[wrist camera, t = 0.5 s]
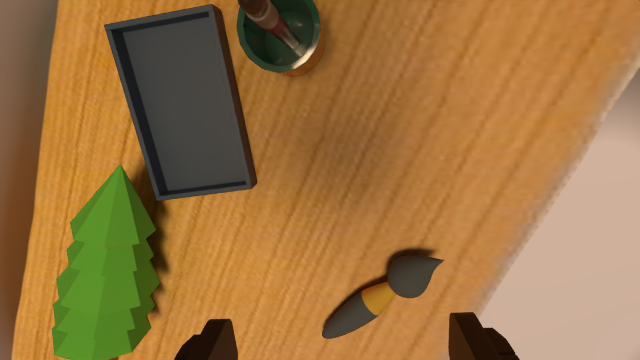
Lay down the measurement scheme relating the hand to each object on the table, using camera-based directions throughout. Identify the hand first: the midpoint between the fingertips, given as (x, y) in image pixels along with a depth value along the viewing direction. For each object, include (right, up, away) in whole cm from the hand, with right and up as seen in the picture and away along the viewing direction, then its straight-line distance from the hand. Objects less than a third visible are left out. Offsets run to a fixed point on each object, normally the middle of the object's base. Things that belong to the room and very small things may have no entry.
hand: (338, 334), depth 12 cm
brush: (-4, +21, +24) cm, 32 cm away
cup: (-4, +21, +24) cm, 32 cm away
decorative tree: (-26, -5, +33) cm, 42 cm away
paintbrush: (+7, -10, +32) cm, 35 cm away
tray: (-16, +14, +27) cm, 35 cm away
